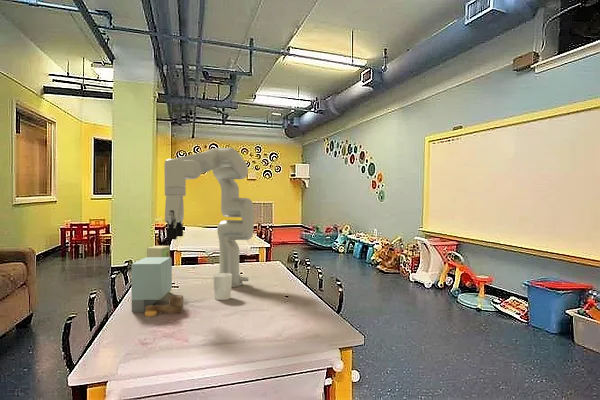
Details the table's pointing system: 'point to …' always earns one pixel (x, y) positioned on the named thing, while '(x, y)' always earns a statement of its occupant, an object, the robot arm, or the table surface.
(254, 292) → the table surface
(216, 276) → the white cup
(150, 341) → the table surface
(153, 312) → the orange round disc
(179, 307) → the brown boxy piece
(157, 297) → the cabinet
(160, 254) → the toy refrigerator
